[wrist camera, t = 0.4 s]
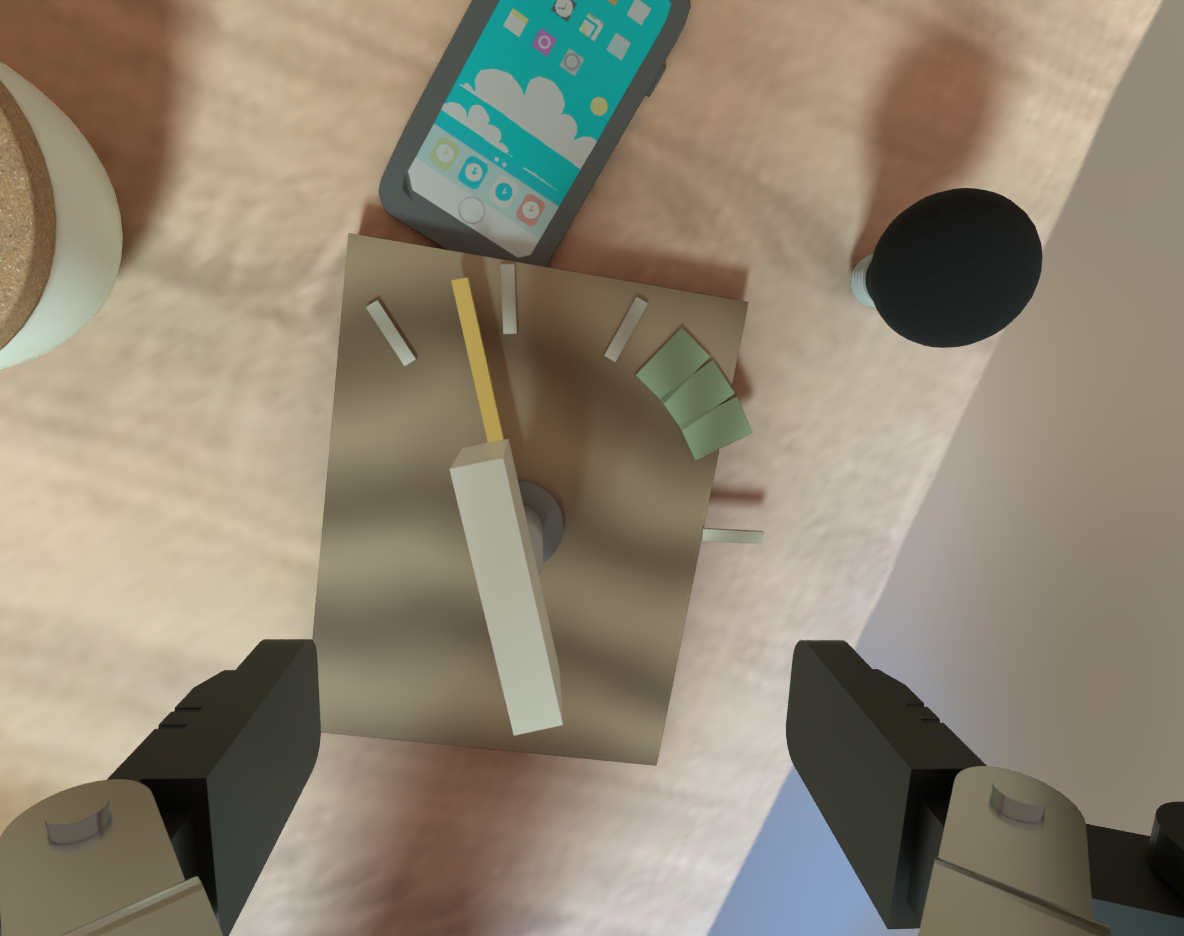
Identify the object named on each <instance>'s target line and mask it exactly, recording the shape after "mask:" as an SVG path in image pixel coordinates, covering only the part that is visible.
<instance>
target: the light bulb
mask: <svg viewBox="0 0 1184 936" xmlns="http://www.w3.org/2000/svg"><path fill="white" fill-rule="evenodd" d="M1041 267H1042V247H1041V242H1040V239H1039V236H1038V233H1037V230H1036V227H1035V225H1034V224H1033V222H1032V221H1031V220H1030V218H1029V217H1028V215H1027V214H1026V213H1025V212H1024V211H1023V210H1022V209H1021V208H1020V207H1018V206H1017V205H1016V204H1015V203H1013V202H1012V201H1011V200H1009V199H1007V198H1006V197H1004V196H1002V195H1000V194H997V193H995V192H991V191H986V190H980V189H973V188H959V189H952V190H948V191H943V192H939V193H935V194H933V195H930V196H927V197H925V198H923V199H921V200H920V201H918V202H916V203H915V204H913V205H912V206H910V207H909V208H907V209H906V210H905V211H903V212H902V213H901V214H900V215H899V216H897V217H896V218H895V219H894V220H893V222H892V223H891V224H890V225H889V226H888V227H887V229H886V230H885V232H884V233H883V235H882V236H881V238H880V240H879V242H878V243H877V245H876V248H875V251H874V254H870V255H868V256H866V257H864V258H863V259H862V260H860V261H859V262H858V264H857V265H856V266H855V268H854V270H853V272H852V276H851V289H852V292H853V294H854V296H855V297H856V299H857V300H858V301H859V302H861V303H862V304H864V305H866V306H869V307H876V309H877V310H878V312H879V314H880V315H881V317H882V318H883V319H884V321H885V322H886V323H887V324H888V325H889V326H890V327H891V328H892V329H893V330H894V331H895V332H896V333H898V334H899V335H901V336H903V337H905V338H906V339H908V340H911V341H913V342H916V343H919V344H922V345H925V346H930V347H941V348H945V347H960V346H965V345H970V344H973V343H975V342H978V341H981V340H983V339H985V338H988V337H990V336H992V335H994V334H996V333H997V332H999V331H1000V330H1002V329H1003V328H1005V327H1006V326H1007V325H1008V324H1009V323H1011V322H1012V321H1013V319H1015V318H1016V317H1017V316H1018V315H1019V314H1020V313H1021V312H1022V310H1023V309H1024V307H1025V306H1026V305H1027V303H1028V302H1029V301H1030V299H1031V298H1032V296H1033V293H1034V291H1035V289H1036V286H1037V284H1038V281H1039V278H1040V274H1041V269H1042V268H1041Z"/></svg>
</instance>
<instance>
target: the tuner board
mask: <svg viewBox="0 0 1184 936" xmlns="http://www.w3.org/2000/svg"><path fill="white" fill-rule="evenodd" d="M467 277H468V278H469V281H470V286H471V290H472V295H473V299H474V304H475V308H476V313H477V318H478V322H479V327H480V331H481V336H482V340H483V345H484V349H485V354H486V358H487V363H488V367H489V372H490V376H491V381H492V385H493V390H494V394H495V399H496V403H497V408H498V412H499V417H500V421H501V426H502V430H503V435H504V439H509V443H510V447H511V452H512V456H513V461H514V466H515V470H516V475H517V479H518V484H519V488H520V493H521V497H522V502H523V505H524V506H527V507H529V508H531V509H532V510H534V511H535V512H536V513H537V514H538V516H539V517H540V519H541V522H542V527H543V569H542V573H541V575H540V577H539V579H540V583H541V588H542V593H543V597H544V602H545V606H546V611H547V615H548V620H549V624H550V629H551V633H552V638H553V642H554V647H555V651H556V656H557V661H558V665H559V670H560V684H561V701H562V718H563V725H561V726H556V727H552V728H547V729H542V730H538V731H533V732H529V733H524V734H519V735H515V736H514V735H513V730H512V726H511V722H510V718H509V714H508V710H507V706H506V701H505V697H504V693H503V689H502V685H501V681H500V677H499V672H498V668H497V664H496V660H495V656H494V652H493V648H492V643H491V639H490V635H489V631H488V627H487V623H486V619H485V615H484V610H483V606H482V602H481V598H480V594H479V590H478V586H477V581H476V577H475V573H474V569H473V565H472V561H471V557H470V552H469V548H468V544H467V540H466V536H465V532H464V528H463V523H462V519H461V515H460V511H459V507H458V503H457V499H456V495H455V490H454V486H453V482H452V478H451V474H450V470H449V469H450V467H451V466H452V464H453V462H454V461H455V459H456V458H457V456H458V454H459V453H460V451H461V450H462V448H465V447H470V446H475V445H480V444H485V443H488V441H487V436H486V432H485V427H484V423H483V419H482V414H481V410H480V405H479V401H478V397H477V392H476V388H475V383H474V379H473V375H472V370H471V366H470V361H469V357H468V353H467V348H466V344H465V339H464V335H463V331H462V326H461V322H460V317H459V313H458V309H457V304H456V300H455V295H454V291H453V287H452V282H451V280H456V279H461V278H467ZM747 307H748V302H745V301H740V300H734V299H728V298H722V297H716V296H711V295H705V294H699V293H693V292H687V291H682V290H676V289H670V288H664V287H658V286H653V285H647V284H641V283H635V282H629V281H624V280H618V279H612V278H606V277H600V276H595V275H589V274H583V273H577V272H572V271H566V270H560V269H554V268H548V267H543V266H537V265H531V264H525V263H519V262H514V261H508V260H502V259H496V258H490V257H485V256H479V255H473V254H467V253H461V252H456V251H450V250H444V249H438V248H432V247H427V246H421V245H415V244H409V243H403V242H398V241H392V240H386V239H380V238H374V237H369V236H363V235H357V234H351V233H349V235H348V246H347V258H346V269H345V280H344V291H343V303H342V314H341V325H340V336H339V347H338V359H337V370H336V381H335V392H334V403H333V415H332V426H331V437H330V448H329V459H328V471H327V482H326V493H325V504H324V516H323V527H322V538H321V549H320V560H319V572H318V583H317V594H316V605H315V616H314V628H313V639H312V640H313V641H314V643H315V646H316V650H317V660H318V680H319V700H320V720H321V733H331V734H341V735H351V736H361V737H371V738H382V739H392V740H402V741H412V742H422V743H432V744H442V745H452V746H463V747H473V748H483V749H493V750H503V751H513V752H523V753H533V754H544V755H554V756H564V757H574V758H584V759H594V760H604V761H614V762H624V763H635V764H645V765H655V766H657V761H658V756H659V751H660V746H661V741H662V736H663V731H664V726H665V721H666V715H667V710H668V705H669V700H670V695H671V690H672V685H673V680H674V675H675V670H676V665H677V660H678V655H679V650H680V645H681V640H682V635H683V630H684V625H685V620H686V615H687V610H688V605H689V599H690V594H691V589H692V584H693V579H694V574H695V569H696V564H697V559H698V554H699V549H700V544H701V540H702V541H712V542H733V543H754V544H762V539H763V531H753V530H732V529H712V528H704V524H705V519H706V514H707V509H708V504H709V499H710V494H711V489H712V483H713V478H714V473H715V468H716V463H717V458H718V453H719V449H720V448H722V447H724V446H726V445H728V444H730V443H732V442H734V441H736V440H739V439H741V438H743V437H745V436H747V435H749V434H751V433H752V430H751V428H750V426H749V423H748V421H747V419H746V416H745V414H744V412H743V410H742V407H741V405H740V403H739V400H738V398H737V397H736V396H735V397H733V398H731V399H729V398H730V396H732V395H733V394H734V391H733V390H732V383H733V378H734V373H735V367H736V362H737V357H738V352H739V347H740V342H741V337H742V332H743V327H744V322H745V317H746V312H747Z"/></svg>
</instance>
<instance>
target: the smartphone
mask: <svg viewBox="0 0 1184 936" xmlns="http://www.w3.org/2000/svg"><path fill="white" fill-rule="evenodd" d="M690 7H691V6H690V1H689V0H472V2H471V4H470V6H469V8H468V10H467V12H466V14H465V15H464V17H463V19H462V21H461V23H460V25H459V27H458V29H457V31H456V32H455V34H454V36H453V38H452V40H451V42H450V44H449V46H448V48H447V49H446V51H445V53H444V55H443V57H442V59H441V61H440V63H439V65H438V66H437V68H436V70H435V72H434V74H433V76H432V78H431V80H430V82H429V83H428V85H427V87H426V89H425V91H424V93H423V95H422V97H421V99H420V100H419V102H418V104H417V106H416V108H415V110H414V112H413V114H412V116H411V117H410V119H409V121H408V123H407V125H406V127H405V129H404V131H403V134H402V136H401V138H400V140H399V142H398V144H397V146H396V148H395V150H394V152H393V154H392V157H391V159H390V161H389V163H388V165H387V167H386V169H385V172H384V174H383V176H382V179H381V183H380V187H379V196H380V200H381V203H382V204H383V206H384V208H385V209H386V211H387V213H389V214H390V215H392V216H393V217H395V218H396V219H398V220H400V221H401V222H403V223H404V224H406V225H408V226H409V227H411V228H413V229H414V230H416V231H417V232H419V233H421V234H422V235H424V236H425V237H427V238H429V239H430V240H432V241H433V242H435V243H437V244H438V245H440V246H442V247H443V248H445V249H446V250H450V251H456V252H461V253H467V254H473V255H479V256H485V257H490V258H496V259H502V260H508V261H514V262H519V263H525V264H531V265H537V266H543V267H546V266H547V264H548V262H549V261H550V259H551V257H552V255H553V254H554V252H555V250H556V249H557V247H558V245H559V243H560V242H561V240H562V238H563V236H564V235H565V233H566V231H567V229H568V228H569V226H570V224H571V223H572V221H573V219H574V217H575V216H576V214H577V212H578V210H579V209H580V207H581V205H582V204H583V202H584V200H585V198H586V197H587V195H588V193H589V191H590V190H591V188H592V186H593V184H594V183H595V181H596V179H597V178H598V176H599V174H600V172H601V171H602V169H603V167H604V165H605V164H606V162H607V160H608V158H609V157H610V155H611V153H612V152H613V150H614V148H615V146H616V145H617V143H618V141H619V139H620V138H621V136H622V134H623V132H624V131H625V129H626V127H627V126H628V124H629V122H630V120H631V119H632V117H633V115H634V113H635V112H636V110H637V108H638V107H639V105H640V103H641V101H642V100H643V98H644V96H645V95H647V96H648V97H650V95H651V93H652V92H653V90H654V88H655V86H656V85H657V83H658V81H659V80H660V78H661V76H662V74H663V73H664V71H665V69H666V67H665V66H664V65H663V63H664V61H665V60H666V58H667V56H668V55H669V53H670V51H671V49H672V48H673V46H674V44H675V42H676V41H677V39H678V37H679V35H680V33H681V30H682V28H683V26H684V24H685V22H686V20H687V16H688V13H689V10H690Z"/></svg>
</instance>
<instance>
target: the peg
mask: <svg viewBox="0 0 1184 936" xmlns="http://www.w3.org/2000/svg"><path fill="white" fill-rule="evenodd" d="M451 282H452V287H453V291H454V295H455V300H456V304H457V309H458V313H459V317H460V322H461V326H462V331H463V335H464V339H465V344H466V348H467V353H468V357H469V361H470V366H471V370H472V375H473V379H474V383H475V388H476V392H477V397H478V401H479V405H480V410H481V414H482V419H483V423H484V427H485V432H486V436H487V441H488V443H485V444H480V445H475V446H470V447H465V448H462V450H461V451H460V453H459V454H458V456H457V458H456V459H455V461H454V462H453V464H452V466H451V467H450V469H449V470H450V474H451V478H452V482H453V486H454V490H455V495H456V499H457V503H458V507H459V511H460V515H461V519H462V523H463V528H464V532H465V536H466V540H467V544H468V548H469V552H470V557H471V561H472V565H473V569H474V573H475V577H476V581H477V586H478V590H479V594H480V598H481V602H482V606H483V610H484V615H485V619H486V623H487V627H488V631H489V635H490V639H491V643H492V648H493V652H494V656H495V660H496V664H497V668H498V672H499V677H500V681H501V685H502V689H503V693H504V697H505V701H506V706H507V710H508V714H509V718H510V722H511V726H512V730H513V735H514V736H515V735H519V734H524V733H529V732H533V731H538V730H542V729H547V728H552V727H556V726H561V725H563V718H562V701H561V684H560V670H559V665H558V661H557V656H556V651H555V647H554V642H553V638H552V633H551V629H550V624H549V620H548V615H547V611H546V606H545V602H544V597H543V593H542V588H541V583H540V579H539V577H540V575H541V573H542V569H543V527H542V522H541V519H540V517H539V516H538V514H537V513H536V512H535V511H534V510H532V509H531V508H529V507H527V506H524V505H523V502H522V497H521V493H520V488H519V484H518V479H517V475H516V470H515V466H514V461H513V456H512V452H511V447H510V443H509V439H504V435H503V430H502V426H501V421H500V417H499V412H498V408H497V403H496V399H495V394H494V390H493V385H492V381H491V376H490V372H489V367H488V363H487V358H486V354H485V349H484V345H483V340H482V336H481V331H480V327H479V322H478V318H477V313H476V308H475V304H474V299H473V295H472V290H471V286H470V281H469V278H468V277H467V278H461V279H456V280H451Z"/></svg>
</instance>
